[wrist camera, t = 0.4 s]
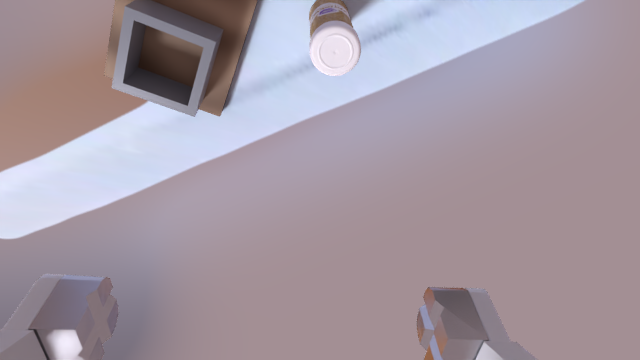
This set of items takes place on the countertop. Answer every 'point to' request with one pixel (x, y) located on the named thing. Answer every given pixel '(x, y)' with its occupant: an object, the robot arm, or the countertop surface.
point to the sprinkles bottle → (333, 38)
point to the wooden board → (190, 46)
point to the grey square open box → (150, 83)
